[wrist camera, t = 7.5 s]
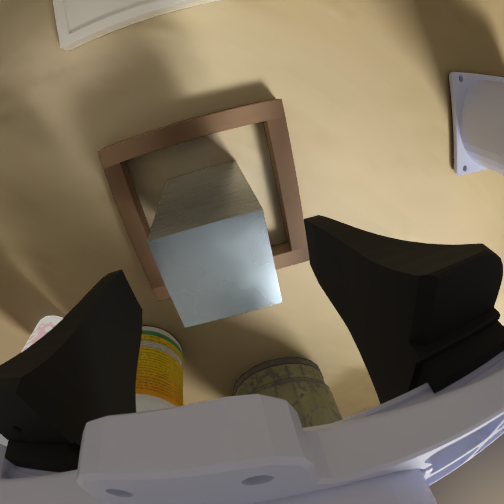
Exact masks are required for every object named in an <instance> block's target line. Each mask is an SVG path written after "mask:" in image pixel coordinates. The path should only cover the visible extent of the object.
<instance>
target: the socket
mask: <svg viewBox="0 0 504 504" xmlns="http://www.w3.org/2000/svg"><path fill="white" fill-rule="evenodd" d="M258 122H263V124H264V128H265V133H266V138H267V142H268V147H269V152H270V157H271V162H272V166H273V171H274V176H275V181H276V186H277V191H278V196H279V202H280V207H281V212H282V217H283V223H284V228H285V233H286V239H287V242H286V243H283V244H279V245H275V246H272V247H271V250H272V255H273V260H274V265H275V269H280V268H284V267H287V266H291V265H294V264H298V263H301V262H305V261H308V260H309V254H308V247H307V240H306V233H305V226H304V220H303V213H302V207H301V201H300V195H299V189H298V183H297V177H296V171H295V166H294V160H293V155H292V149H291V144H290V139H289V133H288V128H287V123H286V118H285V113H284V108H283V103H282V99H272V100H267V101H262V102H257V103H252V104H248V105H243V106H239V107H234V108H230V109H226V110H222V111H218V112H214V113H210V114H206V115H203V116H199V117H195V118H192V119H188V120H185V121H181V122H178V123H175V124H171V125H168V126H165V127H162V128H159V129H156V130H153V131H150V132H147V133H144V134H141V135H138V136H135V137H132V138H129V139H127V140H124V141H121V142H119V143H116V144H113V145H111V146H108V147H106V148H103V149H102V150H100V151H98V154H99V157H100V160H101V163H102V166H103V169H104V172H105V175H106V178H107V180H108V183H109V186H110V189H111V191H112V194H113V197H114V199H115V202H116V205H117V207H118V210H119V212H120V215H121V217H122V220H123V222H124V225H125V227H126V230H127V232H128V235H129V237H130V239H131V242H132V244H133V246H134V249H135V251H136V253H137V256H138V258H139V260H140V263H141V265H142V267H143V269H144V271H145V274H146V276H147V278H148V280H149V282H150V284H151V287H152V289H153V291H154V293H155V295H156V297H157V299H158V301H161V300H165V299H168V298H171V297H170V294H169V292H168V290H167V288H166V285H165V283H164V281H163V279H162V276H161V274H160V272H159V269H158V267H157V265H156V262H155V260H154V258H153V255H152V253H151V250H150V248H149V245H148V243H147V240H148V237H149V234H150V228H149V225H148V223H147V220H146V217H145V215H144V212H143V209H142V207H141V204H140V201H139V198H138V196H137V193H136V190H135V187H134V184H133V181H132V178H131V176H130V173H129V170H128V167H127V164H126V160H129V159H132V158H134V157H137V156H140V155H143V154H146V153H149V152H152V151H155V150H158V149H161V148H165V147H168V146H171V145H174V144H178V143H181V142H184V141H188V140H191V139H195V138H198V137H202V136H205V135H209V134H213V133H217V132H221V131H224V130H228V129H232V128H237V127H241V126H245V125H249V124H254V123H258Z"/></svg>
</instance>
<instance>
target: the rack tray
mask: <svg viewBox="0 0 504 504" xmlns="http://www.w3.org/2000/svg"><path fill="white" fill-rule="evenodd" d="M216 1H222V0H53V7H54V13H55V20H56V26H57V31H58V37H59V42H60V47H61V49H64V50H67V51H70V50H72V49H74V48H76V47H78V46H80V45H83V44H85V43H87V42H89V41H91V40H94V39H96V38H98V37H101V36H103V35H106V34H108V33H110V32H113V31H116V30H118V29H121V28H123V27H126V26H129V25H132V24H134V23H137V22H140V21H143V20H146V19H149V18H153V17H156V16H159V15H163V14H166V13H170V12H173V11H177V10H181V9H185V8H189V7H193V6H197V5H202V4H206V3H211V2H216Z"/></svg>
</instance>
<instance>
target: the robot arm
mask: <svg viewBox="0 0 504 504" xmlns="http://www.w3.org/2000/svg"><path fill="white" fill-rule="evenodd" d="M459 78H460V80H459ZM449 82H450V90H451V101H452V114H453V133H454V172H455V173H456V174H458V175H464V174H468V173H473V172H478V171H482V170H487V169H490V170H492V171H495V172H497V173H499V174H501V175H503V176H504V77H498V76H490V75H482V74H473V73H462V72H451V73H450V74H449ZM463 167H464V168H463ZM304 225H305V231H306V238H307V245H308V252H309V260H310V265H311V267H312V270H313V272H314V274H315V276H316V278H317V280H318V282H319V284H320V286H321V287H322V289H323V290H324V292H325V293H326V295H327V296H328V298H329V300H330V301H331V303H332V304H333V306H334V307H335V309H336V310H337V312H338V313H339V315H340V316H341V318H342V319H343V321H344V322H345V324H346V326H347V327H348V329H349V331H350V333H351V335H352V337H353V339H354V341H355V343H356V345H357V347H358V350H359V352H360V354H361V356H362V359H363V361H364V363H365V365H366V368H367V370H368V372H369V375H370V377H371V380H372V382H373V385H374V387H375V390H376V393H377V395H378V398H379V401H380V405H378V406H376V407H373V408H371V409H368V410H366V411H363V412H361V413H358V414H356V415H353V416H350V417H348V418H345V419H342V420H339V421H336V422H334V423H330V424H325V425H319V426H313V427H306V428H302V425H301V422H300V419H299V416H298V413H297V411H296V410H295V409H294V408H293V407H292V406H291V405H290V404H289V403H288V402H287V401H286V400H283V399H279V398H275V397H270V396H265V395H260V394H250V395H239V396H228V397H223V398H218V399H214V400H209V401H204V402H199V403H194V404H188V405H183V406H177V407H171V408H165V409H158V410H151V411H144V412H136V388H135V387H136V374H137V366H138V358H139V351H140V343H141V336H142V309H141V307H140V305H139V303H138V301H137V299H136V297H135V295H134V293H133V291H132V289H131V287H130V285H129V283H128V281H127V279H126V277H125V275H124V273H123V271H122V270H119V271H115V272H112V273H109V274H107V275H106V276H105V277H103V278H102V279H101V280H100V281H99V282H98V283H97V284H96V285H95V286H94V287H93V288H92V289H91V290H90V291H89V292H88V293H87V294H86V295H85V296H84V298H83V299H82V300H81V301H80V302H79V303H78V304H77V305H76V306H75V307H74V308H73V309H72V310H71V311H70V312H69V313H68V314H67V315H66V316H65V317H64V318H63V319H62V320H61V321H60V322H59V323H58V324H57V325H56V326H55V327H53V328H52V329H51V330H50V331H49V332H48V333H46V334H45V335H44V336H43V337H42V338H40V339H39V340H38V341H36V342H35V343H34V344H32V345H31V346H30V347H28V348H27V349H26V350H24V351H23V352H21V353H20V354H18V355H17V356H15V357H14V358H12V359H10V360H9V361H7V362H5V363H4V364H2V365H0V434H2V435H3V436H4V437H5V438H6V439H8V440H9V441H8V445H7V447H6V446H4V445H2V444H0V504H437V503H436V500H435V499H434V496H433V494H432V492H431V490H430V488H429V485H431V484H433V483H434V482H436V481H438V480H439V479H441V478H443V477H444V476H446V475H447V474H449V473H450V472H452V471H453V470H455V469H457V468H458V467H460V466H461V465H462V464H464V463H465V462H467V461H468V460H470V459H471V458H472V457H474V456H475V455H476V454H478V453H479V452H480V451H482V450H483V449H484V448H486V447H487V446H488V445H489V444H491V443H492V442H493V441H495V440H496V439H497V438H498V437H499V436H501V435H502V434H503V433H504V327H503V326H502V324H501V323H500V322H499V321H498V319H499V318H500V313H499V312H498V311H497V310H496V309H495V308H494V305H495V302H496V299H497V295H498V292H499V289H500V285H501V281H502V277H503V264H502V261H501V258H500V257H499V256H498V255H497V254H495V253H494V252H493V251H492V250H490V249H489V248H488V247H486V246H485V245H484V244H463V245H442V244H426V243H418V242H410V241H404V240H399V239H394V238H389V237H385V236H381V235H377V234H374V233H371V232H367V231H364V230H361V229H358V228H355V227H352V226H349V225H347V224H344V223H341V222H339V221H336V220H333V219H330V218H327V217H324V216H320V215H318V216H314V217H310V218H306V219H304Z"/></svg>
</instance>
